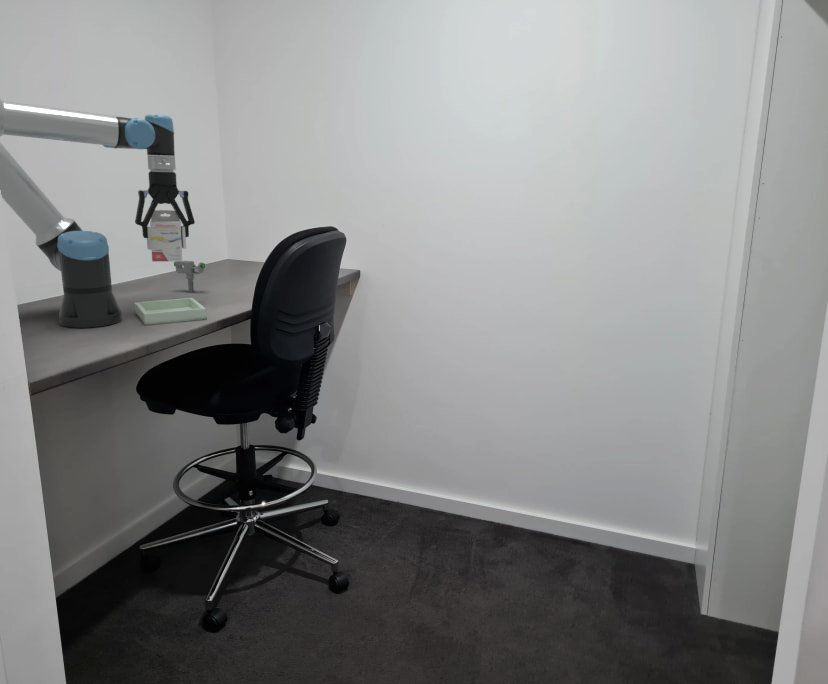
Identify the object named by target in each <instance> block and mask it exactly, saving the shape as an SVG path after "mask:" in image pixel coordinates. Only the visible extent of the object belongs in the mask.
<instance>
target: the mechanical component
mask: <svg viewBox="0 0 828 684" xmlns="http://www.w3.org/2000/svg"><path fill="white" fill-rule="evenodd" d="M173 266H174V267H175V271H176V273H178V274H186V275H185V276H186V277H185V279H187V286H188V293H193V292H195V291H194V289H195V288H194V279H195V275H200V274H203V273H204V272H205V267H206V263H205V262H201V261H200V262H199V263H198V264H197V266H196V263H195V261H194V260H192V261H191V260H182V261H173ZM195 270H198V271H195Z"/></svg>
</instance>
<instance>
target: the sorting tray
mask: <svg viewBox="0 0 828 684" xmlns="http://www.w3.org/2000/svg"><path fill="white" fill-rule="evenodd" d="M134 311H135V314H136V315H137V317H138V318H139V319H140V321H142V323H143V325H145V326H150V325H160V324H161V325H162V324H171V323H182V322H191V321H192V322H193V321H201V320H203V319H204V320H207V308H206V307H204V306H203V305H202V304H201V303H200V302H198V301H197V300H195V298H194V297H184V298H183V297H182V298H175V299H173V298H172V299H160V300H159V299H158V300H149V301H138V302H137V301H136V302H134Z"/></svg>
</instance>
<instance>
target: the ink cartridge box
mask: <svg viewBox="0 0 828 684" xmlns="http://www.w3.org/2000/svg"><path fill="white" fill-rule="evenodd" d="M164 214H166V215H167V216H166V215H165V216H161V215H164ZM168 215H170V216H168ZM181 223H182V222H181V220H180V219H179V217H178V215H177V213H176V212H175V210H169V209H167V210H164V209H163V210H161V209H159V210H158V209H155V211H154V213H153V215H152V217H151V219H150V221H149V224H150V226H149V227H150V230H151V245H152V250H151V261H152V262H175V261H183V248H182V240H181V226H182V224H181Z"/></svg>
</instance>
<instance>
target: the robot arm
mask: <svg viewBox="0 0 828 684" xmlns="http://www.w3.org/2000/svg"><path fill="white" fill-rule="evenodd" d="M174 130H175V129H174V123H173V118H172V117H171V116H170V115H165V114H146V115H145V116H144V119H143V118H139V117H133V118H130V117H124V116H123V117H122V116H116V115H109V114H103V113H102V114H100V113H94V112H86V111H80V110H71V109H66V108H65V109H64V108H56V107H49V106H44V105H43V106H42V105H35V104H34V105H33V104H26V103H19V102H13V101H12V102H11V101H6V100H5V101H4V100H2V99H0V137H2V136H5V135H7V136H16V137H25V138H32V139H33V138H34V139H43V140H53V141H63V142H71V143H72V142H73V143H82V144H90V145H98V146H99V145H101V146H103V147H105V148H108V149H109V148H110V149H124V150H125V149H129V150H133V149H135V150H146V154H147V169H148V170H149V172H148V189H146V190H142V189H140V190H138V191H137V193H138V202H137V203H138V204H137V208H136V209H137V210H136V215H135V220H134V223H135V224H136V225H138V226H140V227H141V228H142V238H143V239H146V245H147V247H146V248H147V250H149V251H152V245H151V228H150V226H148V225H149V224H150V222H151V217H152V215H153V213H154V211H155V210H157V209H156V208H157V207H158V205H163V204H166V205H170V206H171V207H172V208H173V211H175V212H176V213H177V215H178V217H179V219H180V222H181V223H182V224H181V240H182V250H183V249H184V250H185V249H187V242H186V241H187V240H186V238H189V235H190V233H189V232H190V231H189V229H190V228H189V227H190V226H191V225H195V219H194V215H193V212H192V209H191V204H190V201H189V191H188V190H179V189H178V186H177V185H178V184H177V173H176V172H175V171H176V170H177V168H176V156H175V131H174ZM0 190H1V195H2V197H1V198H2V199H3V200H4V201H5V203H6V204H7V205H8V206H9V208H11V210H13V212H14V213H15V214H16V215H17V216H18V217H19V218H20V220H21V221H22V222H23V223H24V224H25V225H26V226H27V227H28V228H29V230H31V232H32V233H33V234H34V235H35V245H36V246H37V248H39V250H40V251H41V252H42V253H43V254H44V255H45V256H46V257H47V259H48V260H49V262H50V263H51V265H52V266H53V267H54V268H55V269H56V270H58V271H60V272H61V273H60V274H61V281H62V288H63V289H62V290H63V297H62V301H61V304H60V309H59V314H58V319H59V325H60V326H62V327H66V328H77V329H78V328H79V329H80V328H81V329H82V328H87V329H88V328H98V327H105V326H110V325H114V324H117V323H119V322H121V321H122V319H123V318H122V317H123V316H122V310H121V308H120V306H119V304H118V301H117V299H116V297H115V295H114V293H113V285H112V276H111V275H112V274H111V263H110V255H109V254H110V253H109V251H110V249H109V248H110V246H109V244H108V238H107V237H106V236H105V235H104V234H102V233H100V232H97V231H96V232H95V231H90V230H83V229H82V228H81V226H80V225H79V224H78V223H77V222H76V221H75V220H74V219H73V218H69V217H64V216H63V214H62V213H61V212H60V210H58V208H57V207H56V206H55V205H54V204H53V202H51V200H50V199H49V198H48V197H47V196H46V195H45V193H44V192H43V191H42V190H41V188H40V187H39V186H38V185H37V184H36V183H35V181H33V179H32V178H31V176H29V174H28V173H27V172H26V171H25V170H24V169H23V167H22V166H21V165H20V164H19V163H18V161H17V160H16V159H15V158H14V157H13V156H12V154H11V153H10V152H9V150H8V149H7V148H6V147H5V146H4V145H3V144H2V142H0ZM148 195H149V196H150V197H151V198H152V200H151V202H150V205H149V207H148V209H147V211H146V214H145V216H144V218H143V213H144V206H145V203H146V198H147V196H148ZM178 195H179V197H180V198H181V200H182V204H183V206H184V211H185V214H186V216H187V219H186V217H185V215H184V213H183V212H182V209H181V208H180V206H179V204H178V202H177V201H176V198H177V197H178Z"/></svg>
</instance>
